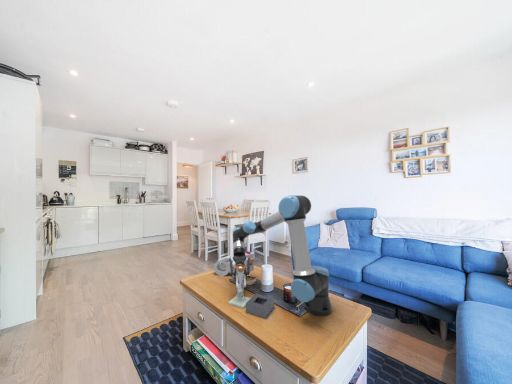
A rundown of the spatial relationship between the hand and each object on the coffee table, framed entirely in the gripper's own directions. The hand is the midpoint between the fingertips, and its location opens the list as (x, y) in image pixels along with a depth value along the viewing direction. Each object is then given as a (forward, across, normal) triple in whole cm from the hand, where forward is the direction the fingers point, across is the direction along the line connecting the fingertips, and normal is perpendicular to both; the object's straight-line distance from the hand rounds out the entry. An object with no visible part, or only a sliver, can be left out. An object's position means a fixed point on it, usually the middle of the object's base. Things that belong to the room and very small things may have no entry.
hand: (241, 286), depth 120 cm
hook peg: (+3, 0, -8) cm, 9 cm away
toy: (-20, -7, -36) cm, 42 cm away
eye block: (+12, -10, -3) cm, 16 cm away
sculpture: (-25, +7, -41) cm, 48 cm away
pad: (+5, 0, -10) cm, 12 cm away
